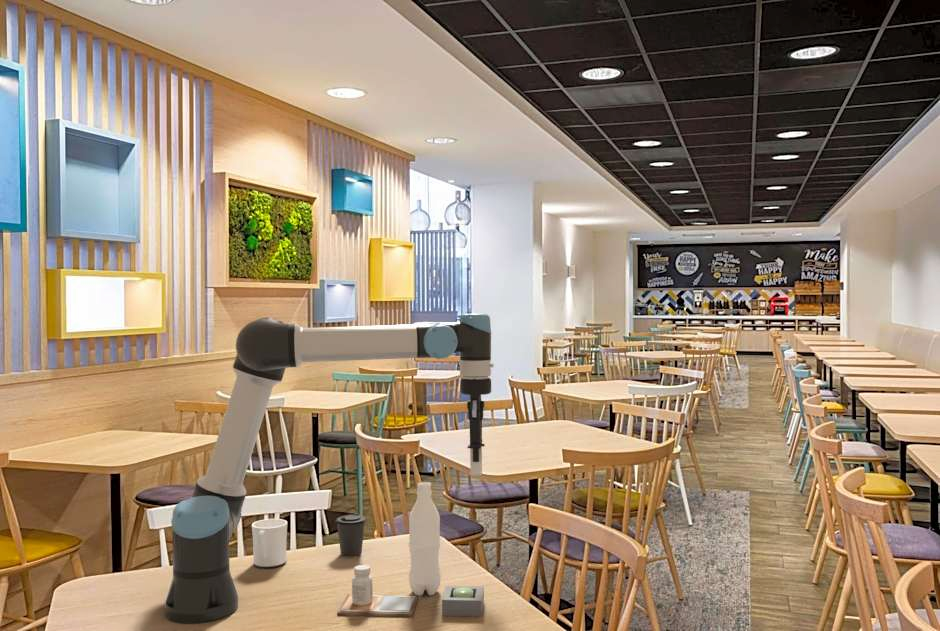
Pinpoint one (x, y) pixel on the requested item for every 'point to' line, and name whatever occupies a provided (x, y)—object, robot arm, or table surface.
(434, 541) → the water bottle
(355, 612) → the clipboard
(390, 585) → the table surface
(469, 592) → the button
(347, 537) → the coffee cup
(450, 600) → the button housing
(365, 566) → the pill bottle
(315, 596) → the table surface
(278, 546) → the mug
